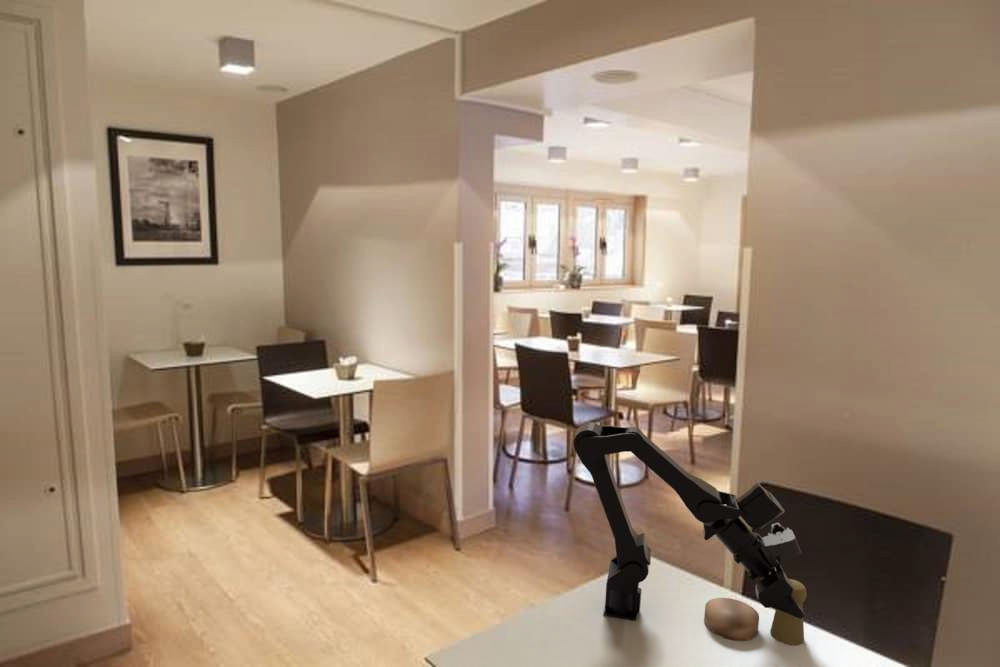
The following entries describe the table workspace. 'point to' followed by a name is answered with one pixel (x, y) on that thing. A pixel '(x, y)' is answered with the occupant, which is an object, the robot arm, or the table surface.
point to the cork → (790, 620)
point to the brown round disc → (731, 619)
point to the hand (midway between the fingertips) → (797, 604)
